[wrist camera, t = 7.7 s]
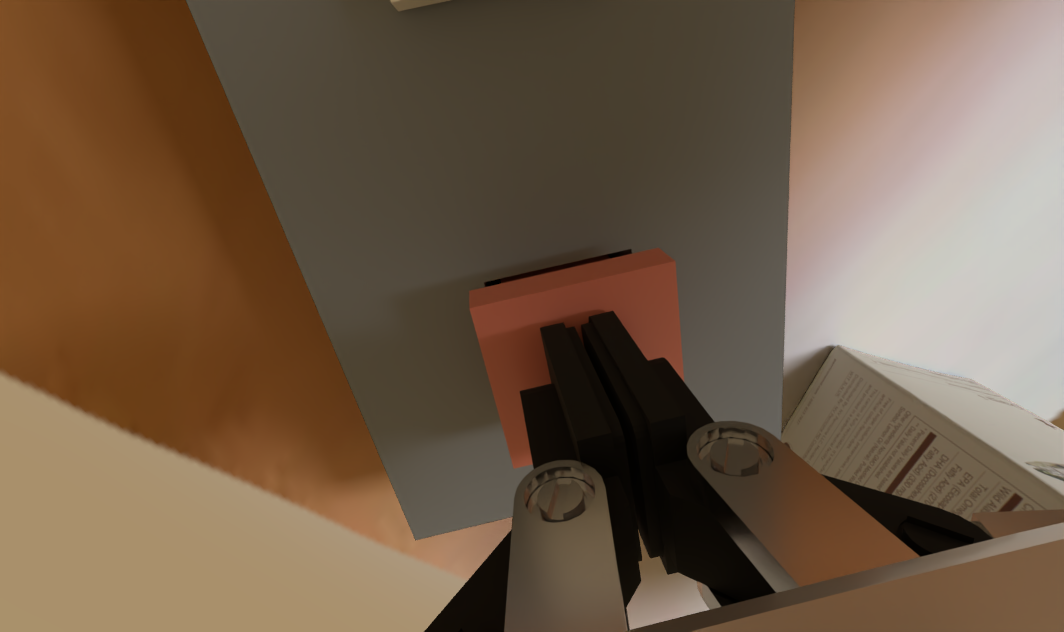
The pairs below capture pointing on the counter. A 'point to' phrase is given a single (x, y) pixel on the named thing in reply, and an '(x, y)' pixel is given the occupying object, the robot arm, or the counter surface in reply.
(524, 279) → the red plug
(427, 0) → the ivory plug
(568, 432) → the robot arm
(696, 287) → the plug panel
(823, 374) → the supplement box
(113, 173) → the counter surface
